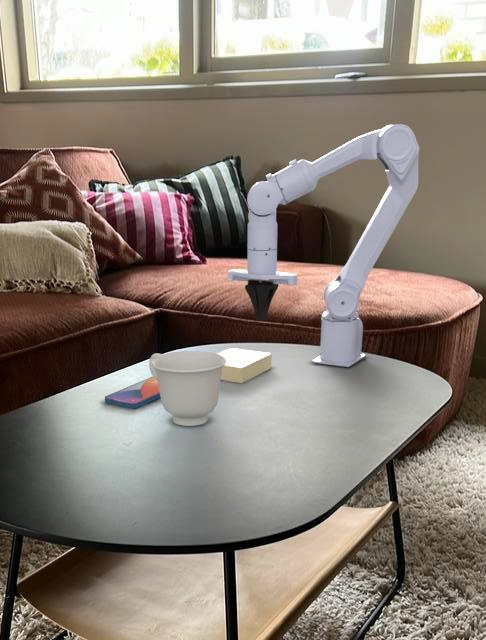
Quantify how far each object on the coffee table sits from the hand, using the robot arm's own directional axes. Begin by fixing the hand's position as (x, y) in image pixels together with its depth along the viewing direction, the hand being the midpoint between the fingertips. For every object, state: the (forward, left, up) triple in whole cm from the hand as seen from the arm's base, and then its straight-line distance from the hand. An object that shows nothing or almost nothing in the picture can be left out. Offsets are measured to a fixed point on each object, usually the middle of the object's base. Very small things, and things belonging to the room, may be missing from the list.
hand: (261, 319), depth 153 cm
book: (+10, 0, -8) cm, 13 cm away
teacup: (+38, +6, -9) cm, 39 cm away
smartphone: (+31, -7, -8) cm, 33 cm away
